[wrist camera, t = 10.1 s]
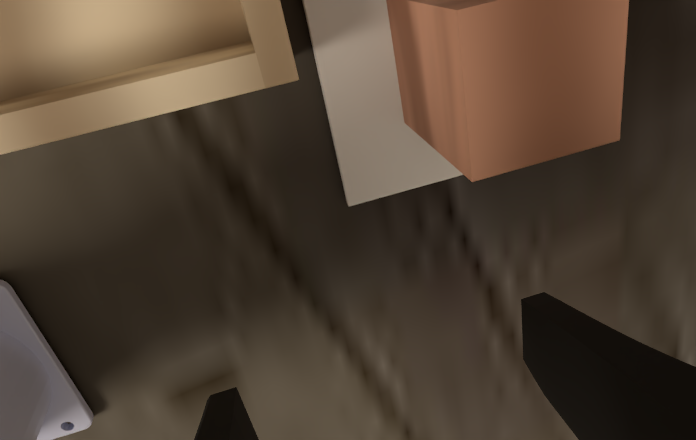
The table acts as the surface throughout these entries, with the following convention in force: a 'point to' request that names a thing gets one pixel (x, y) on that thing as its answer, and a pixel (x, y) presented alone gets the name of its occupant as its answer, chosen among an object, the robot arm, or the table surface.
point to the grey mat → (367, 102)
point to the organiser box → (130, 61)
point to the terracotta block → (510, 78)
